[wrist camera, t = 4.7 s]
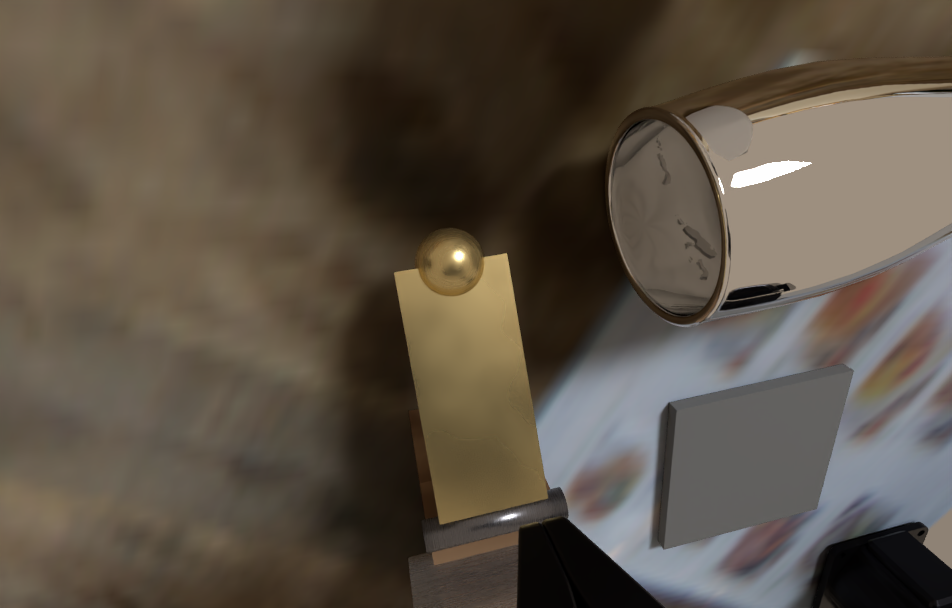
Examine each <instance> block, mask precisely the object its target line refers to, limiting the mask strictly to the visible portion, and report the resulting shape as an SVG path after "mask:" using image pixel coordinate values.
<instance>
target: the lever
mask: <svg viewBox="0 0 952 608" xmlns="http://www.w3.org/2000/svg"><path fill="white" fill-rule="evenodd" d="M394 276H395V281H396V287H397V292H398V298H399V303H400V309H401V314H402V320H403V325H404V331H405V336H406V342H407V347H408V353H409V358H410V364H411V369H412V375H413V380H414V386H415V391H416V397H417V402H418V408H419V413H420V419H421V424H422V430H423V435H424V441H425V446H426V451H427V457H428V462H429V468H430V473H431V479H432V484H433V490H434V495H435V501H436V506H437V512H438V516H437V517H433V518H429V519H424V520H421V522H422V529H423V535H424V541H425V547H426V552H427V554H428V553H432V552H436V551H440V550H444V549H448V548H452V547H456V546H460V545H464V544H468V543H472V542H476V541H480V540H484V539H488V538H492V537H496V536H500V535H504V534H508V533H512V532H516V531H519V527H520V526H522V525H525V524H529V523H533V522H540V523H541V524H542V522H543V521H544V520H546V519H550V518H554V517H558V516H563V517H565V518H567V519H568V507H567V503H566V499H565V496H564V494H563V492H562V490H561V488H560V487H558V488H553V489H549V490H547V488H546V482H545V476H544V470H543V464H542V459H541V453H540V447H539V441H538V435H537V429H536V423H535V417H534V411H533V405H532V399H531V393H530V387H529V381H528V375H527V369H526V364H525V358H524V352H523V346H522V340H521V334H520V328H519V322H518V316H517V310H516V304H515V298H514V292H513V286H512V280H511V274H510V269H509V263H508V257H507V253H506V254H500V255H494V256H488V257H484V253H483V250H482V248H481V246H480V244H479V243H478V241H477V240H476V239H475V238H474V237H473V236H472V235H471V234H469V233H467V232H466V231H463V230H461V229H457V228H443V229H439V230H436V231H434V232H432V233H431V234H429V235H428V236H427V237H426V238H425V239H424V240H423V241H422V242H421V244H420V245H419V247H418V249H417V252H416V255H415V269H411V270H405V271H399V272H394Z"/></svg>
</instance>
